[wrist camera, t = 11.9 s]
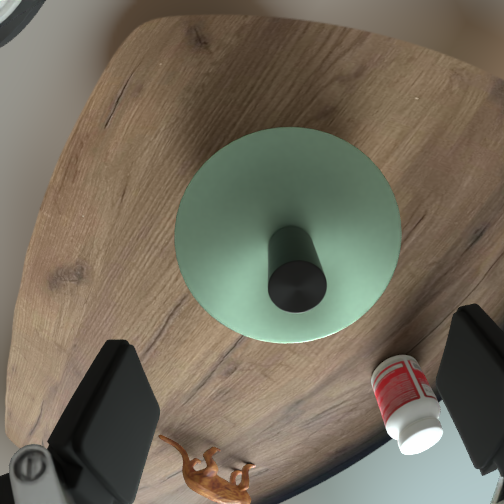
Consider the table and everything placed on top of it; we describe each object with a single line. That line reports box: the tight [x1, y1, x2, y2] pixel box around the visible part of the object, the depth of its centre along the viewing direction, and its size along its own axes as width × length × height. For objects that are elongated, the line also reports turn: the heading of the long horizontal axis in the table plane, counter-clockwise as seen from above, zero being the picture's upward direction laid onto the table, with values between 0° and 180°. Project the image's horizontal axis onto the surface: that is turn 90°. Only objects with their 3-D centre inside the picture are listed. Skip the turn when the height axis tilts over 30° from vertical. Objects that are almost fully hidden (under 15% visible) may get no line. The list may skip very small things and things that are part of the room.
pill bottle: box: [371, 355, 443, 455], centre depth 29 cm, size 6×6×11 cm
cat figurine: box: [159, 435, 256, 504], centre depth 36 cm, size 18×7×14 cm, turn 52°
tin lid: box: [175, 127, 401, 343], centre depth 17 cm, size 14×14×6 cm
